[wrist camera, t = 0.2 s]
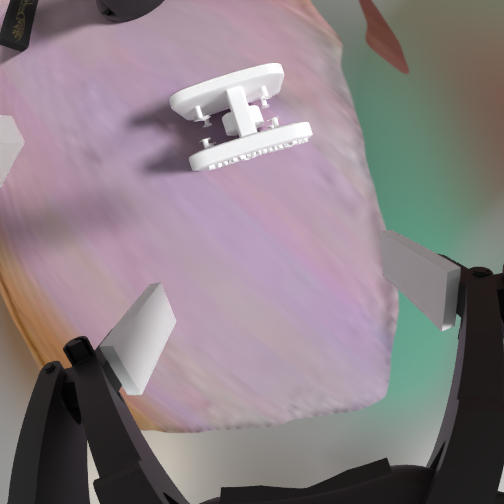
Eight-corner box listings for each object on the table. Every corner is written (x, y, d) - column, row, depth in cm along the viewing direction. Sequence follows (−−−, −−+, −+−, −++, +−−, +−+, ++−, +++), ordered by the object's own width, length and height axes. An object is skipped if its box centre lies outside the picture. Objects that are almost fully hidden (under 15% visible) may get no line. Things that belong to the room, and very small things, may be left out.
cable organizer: (280, 85, 36) (288, 57, 25) (301, 147, 39) (317, 138, 28) (187, 113, 38) (164, 95, 27) (207, 175, 41) (189, 176, 30)
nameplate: (35, -1, 25) (14, -12, 16) (40, -5, 25) (20, -16, 16) (23, 52, 31) (-3, 43, 22) (28, 48, 31) (2, 39, 22)
